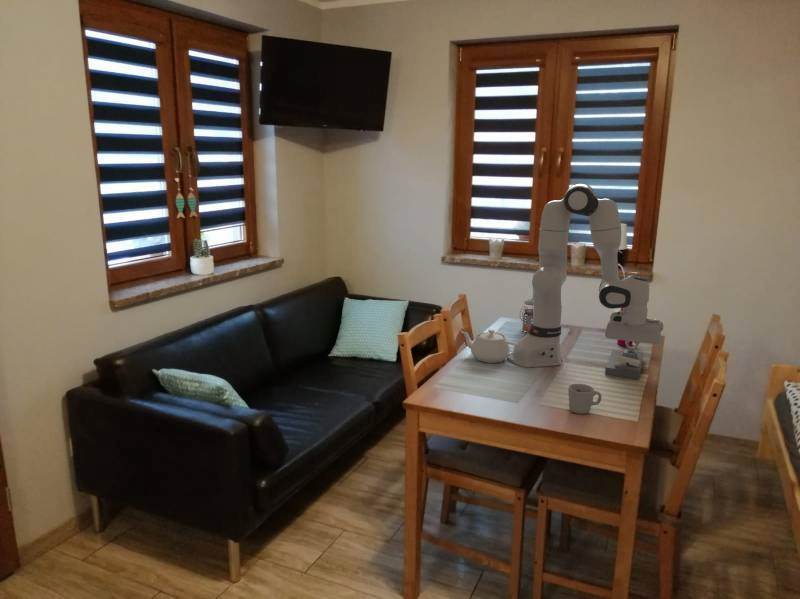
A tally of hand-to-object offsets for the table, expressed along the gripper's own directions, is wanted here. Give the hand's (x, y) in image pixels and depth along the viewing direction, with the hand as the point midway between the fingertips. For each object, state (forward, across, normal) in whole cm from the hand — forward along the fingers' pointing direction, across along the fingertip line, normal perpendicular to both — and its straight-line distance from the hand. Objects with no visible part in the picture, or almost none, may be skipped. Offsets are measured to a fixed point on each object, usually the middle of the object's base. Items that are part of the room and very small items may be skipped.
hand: (631, 351), depth 232 cm
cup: (+7, +10, +50) cm, 51 cm away
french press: (+7, +47, -33) cm, 58 cm away
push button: (+3, 0, 0) cm, 3 cm away
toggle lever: (+3, 0, -8) cm, 8 cm away
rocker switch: (+2, 0, +8) cm, 8 cm away
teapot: (+6, +53, +14) cm, 55 cm away
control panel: (+7, +2, 0) cm, 7 cm away
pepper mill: (+7, +4, -32) cm, 33 cm away
